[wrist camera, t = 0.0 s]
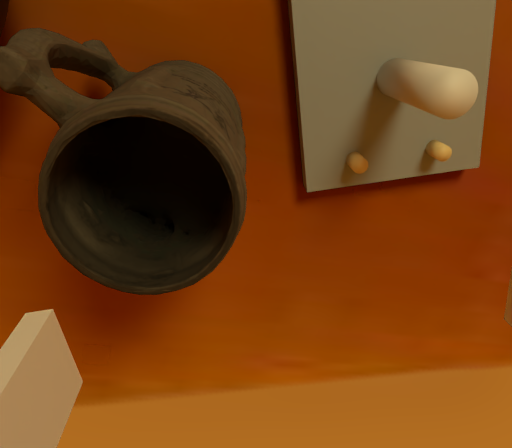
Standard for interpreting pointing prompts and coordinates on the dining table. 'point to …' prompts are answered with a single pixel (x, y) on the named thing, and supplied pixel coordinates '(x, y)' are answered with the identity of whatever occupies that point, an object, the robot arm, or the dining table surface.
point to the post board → (354, 96)
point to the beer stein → (134, 163)
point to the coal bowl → (3, 13)
